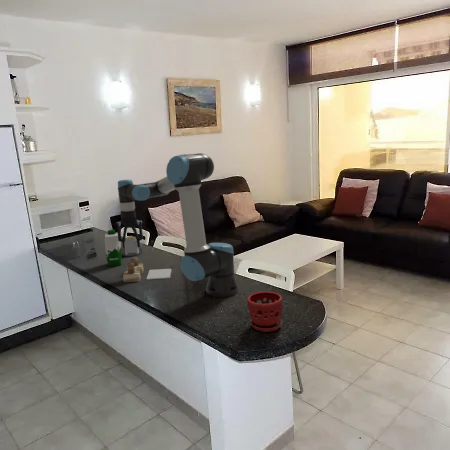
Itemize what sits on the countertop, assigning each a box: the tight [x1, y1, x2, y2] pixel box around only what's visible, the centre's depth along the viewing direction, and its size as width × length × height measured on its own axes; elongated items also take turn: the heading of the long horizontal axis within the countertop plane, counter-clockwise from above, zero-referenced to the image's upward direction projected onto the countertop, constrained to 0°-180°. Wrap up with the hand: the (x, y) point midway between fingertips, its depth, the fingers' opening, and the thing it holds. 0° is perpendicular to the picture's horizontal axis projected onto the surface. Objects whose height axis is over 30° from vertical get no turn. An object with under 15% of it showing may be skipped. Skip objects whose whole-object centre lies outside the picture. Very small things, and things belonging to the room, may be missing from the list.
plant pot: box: [247, 291, 283, 333], centre depth 154 cm, size 13×13×12 cm
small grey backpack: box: [120, 241, 143, 257], centre depth 261 cm, size 15×8×20 cm
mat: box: [146, 268, 172, 281], centre depth 218 cm, size 14×12×1 cm
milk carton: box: [103, 229, 123, 268], centre depth 237 cm, size 9×9×20 cm
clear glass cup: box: [125, 235, 137, 253], centre depth 213 cm, size 6×5×8 cm
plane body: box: [122, 256, 144, 283], centre depth 216 cm, size 17×8×9 cm, turn 4°
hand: (132, 253), depth 214 cm, fingers closed on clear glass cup, 5 cm apart
